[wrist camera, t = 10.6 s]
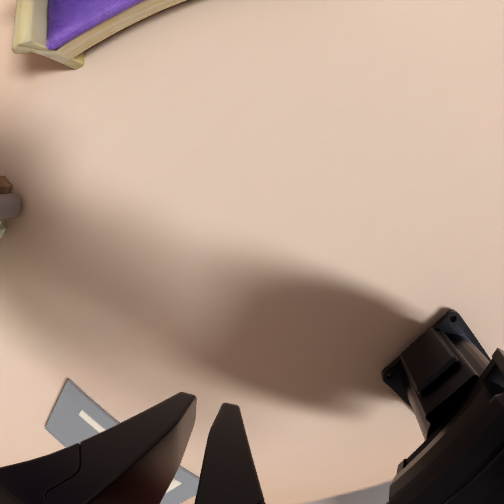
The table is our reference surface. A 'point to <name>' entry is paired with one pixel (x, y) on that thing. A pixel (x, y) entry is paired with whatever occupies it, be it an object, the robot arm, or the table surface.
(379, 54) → the table surface
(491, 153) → the table surface
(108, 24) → the toy sofa
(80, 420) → the card
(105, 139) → the table surface
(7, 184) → the walnut fence section
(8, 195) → the sage fence section
